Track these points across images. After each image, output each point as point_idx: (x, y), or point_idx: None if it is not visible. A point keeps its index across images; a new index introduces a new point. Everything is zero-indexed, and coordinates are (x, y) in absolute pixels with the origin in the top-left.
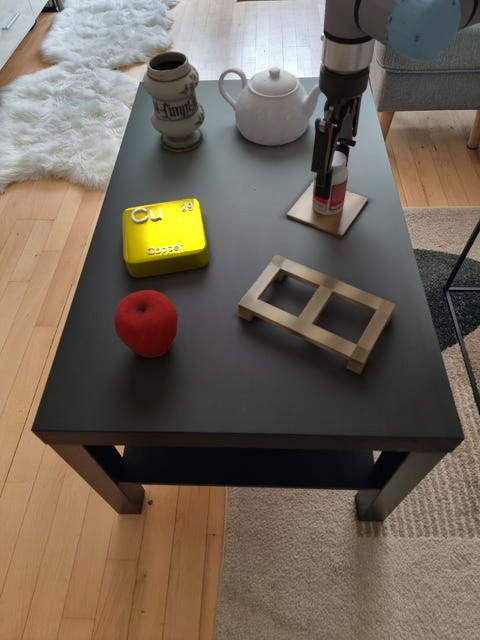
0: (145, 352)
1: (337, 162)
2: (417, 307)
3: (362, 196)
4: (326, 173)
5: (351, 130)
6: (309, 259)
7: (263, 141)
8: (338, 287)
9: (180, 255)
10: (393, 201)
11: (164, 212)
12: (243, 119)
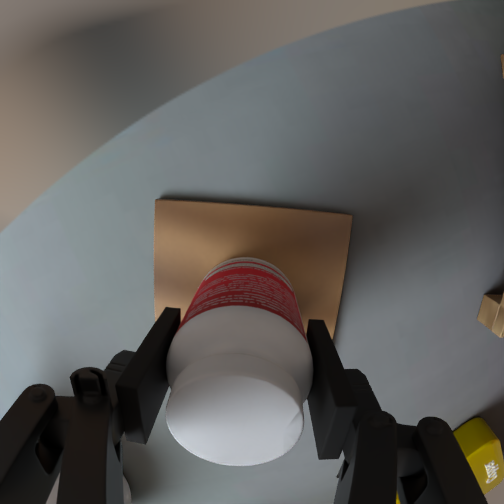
0: None
1: (259, 404)
2: (458, 8)
3: (156, 219)
4: (362, 411)
5: (74, 466)
6: (444, 265)
7: (123, 481)
8: None
9: (501, 452)
10: (130, 128)
11: None
12: None
